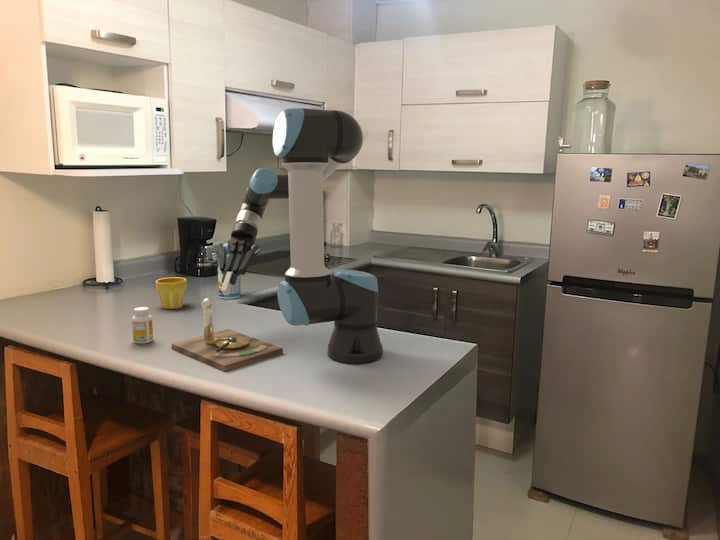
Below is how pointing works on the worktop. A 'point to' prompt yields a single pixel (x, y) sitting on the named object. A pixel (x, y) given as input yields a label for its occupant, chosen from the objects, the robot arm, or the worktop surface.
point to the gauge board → (227, 351)
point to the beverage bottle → (235, 288)
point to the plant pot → (171, 291)
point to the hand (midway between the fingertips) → (224, 292)
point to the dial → (223, 342)
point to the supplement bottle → (142, 325)
